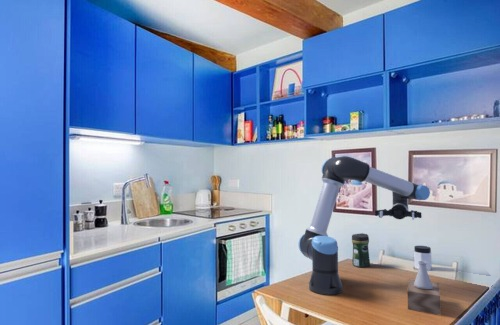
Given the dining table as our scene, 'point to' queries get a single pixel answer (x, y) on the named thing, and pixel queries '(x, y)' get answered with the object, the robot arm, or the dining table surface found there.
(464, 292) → the dining table surface
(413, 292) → the walnut block
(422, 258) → the jar
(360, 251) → the coffee jar
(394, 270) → the dining table surface
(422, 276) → the flask
